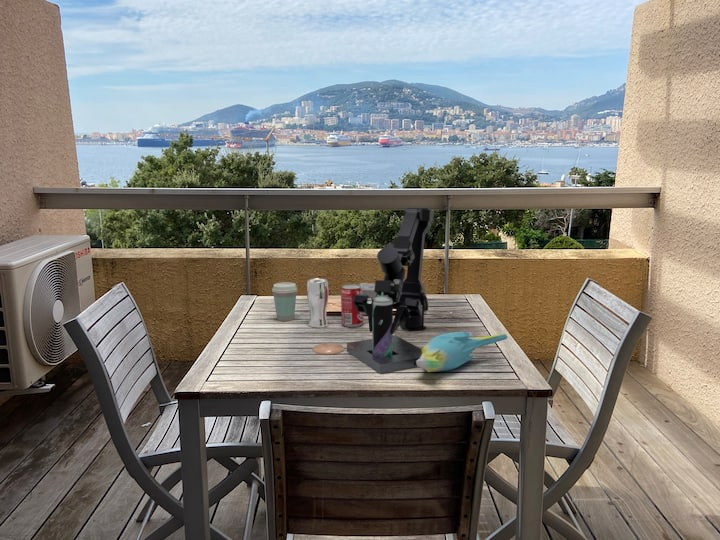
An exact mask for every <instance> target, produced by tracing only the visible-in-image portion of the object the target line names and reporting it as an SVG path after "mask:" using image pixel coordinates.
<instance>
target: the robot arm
mask: <svg viewBox="0 0 720 540" xmlns="http://www.w3.org/2000/svg"><path fill="white" fill-rule="evenodd" d="M403 212H404V213H403V216H404V217H403V219H402V223H401V225H400V228H399V231H398V235H397V237H396V238H395V239H394V240H392V241H390V243H386V246H384V247H382V248H381V249H380V250H379V251H378V252H377V255H376V257H377V261H378V264H379V266H380V269H381V271H382V273H384V276H383V279H382V280H381V279H377V280H375V282H374V284H375V288H374V292H376V296H377V295H378V294H379V291H385V292H386V293H387V294H388V296H389V297H390V298H392V301H393V310H395V315H394V318H393V324H392V327H391V334H393V335H394V333H395V332H396V331H397V330H398V328H399V327H400V328H403V329H405V330H407V331H409V332H412V331H418V330H425V329H427V326H426V325H424V324H425V320H424V319H425V312H427V311H429V299H428V297H427V293H425V292H426V288H425V286H424V284H423V282H422V269H423V259H424V247H425V239H426V235H427V233H428V232H429V231H430V229H431V228H432V223H433V222H434V218H435V217H434V211H433V210H431V208H430V206H429V207H426V206H425V207H421V206H410V207H408V206H407V207H405V208H404V211H403ZM404 267H407V271H406V268H404ZM372 301H373V299H370V298H369V296H368V295H362V294H356V295H355V296H354V298H353V301H352V302H353V304H354V306H355V308H356V310H357V311H358V312H364V313H366V315H365V316H367V319H368V321H367V322H368V329H369V332H370V333H372Z"/></svg>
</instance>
